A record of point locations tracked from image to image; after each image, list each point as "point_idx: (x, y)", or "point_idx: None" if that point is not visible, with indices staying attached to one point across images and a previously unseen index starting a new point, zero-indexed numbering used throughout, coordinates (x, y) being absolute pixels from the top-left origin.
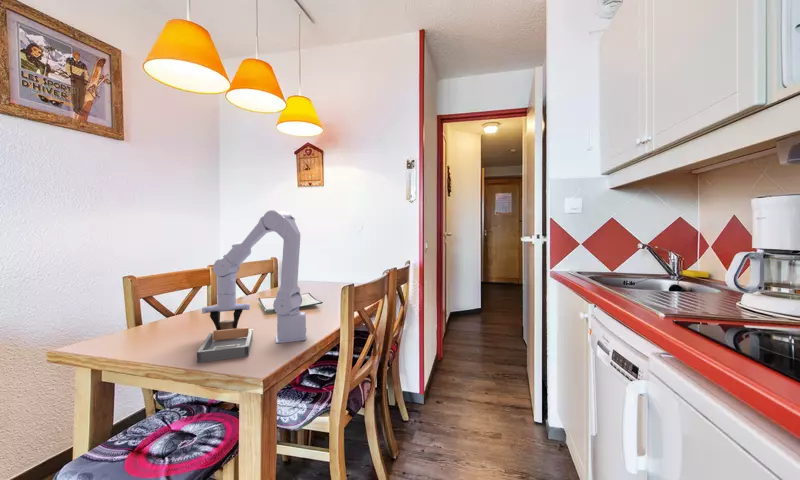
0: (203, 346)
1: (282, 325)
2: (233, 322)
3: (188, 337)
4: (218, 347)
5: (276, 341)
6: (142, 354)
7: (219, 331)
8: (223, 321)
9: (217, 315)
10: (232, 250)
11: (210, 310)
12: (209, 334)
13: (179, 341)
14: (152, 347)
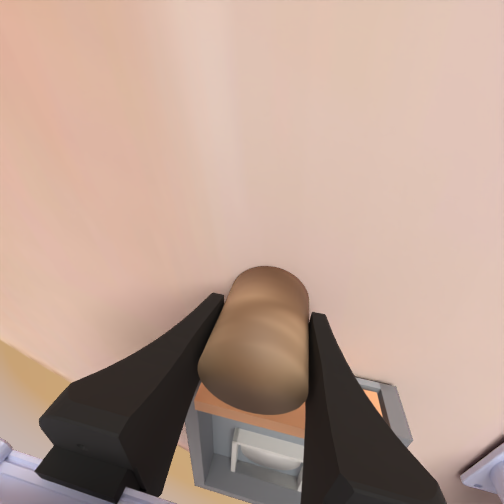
0: (199, 469)
1: None
2: (302, 395)
3: (65, 213)
4: (245, 443)
5: (467, 481)
6: (25, 330)
7: (225, 413)
8: (222, 364)
9: (159, 494)
10: None
11: (35, 502)
12: None
13: (59, 259)
14: (2, 281)
